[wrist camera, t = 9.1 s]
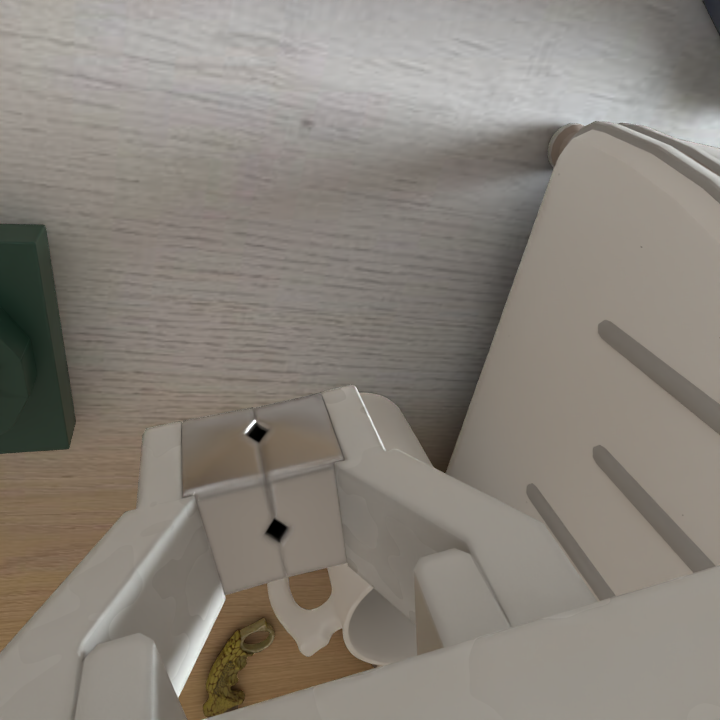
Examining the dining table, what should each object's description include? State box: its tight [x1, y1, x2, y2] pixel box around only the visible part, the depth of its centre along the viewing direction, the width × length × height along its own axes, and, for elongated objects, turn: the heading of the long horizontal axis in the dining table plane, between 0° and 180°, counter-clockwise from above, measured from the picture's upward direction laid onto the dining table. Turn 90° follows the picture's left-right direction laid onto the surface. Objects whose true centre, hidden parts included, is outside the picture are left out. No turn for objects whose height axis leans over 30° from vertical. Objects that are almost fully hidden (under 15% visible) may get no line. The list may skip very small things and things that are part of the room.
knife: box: [203, 618, 275, 718], centre depth 43 cm, size 14×1×5 cm
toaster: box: [372, 121, 720, 668], centre depth 32 cm, size 21×45×22 cm, turn 168°
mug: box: [267, 392, 434, 666], centre depth 30 cm, size 10×7×12 cm, turn 117°
